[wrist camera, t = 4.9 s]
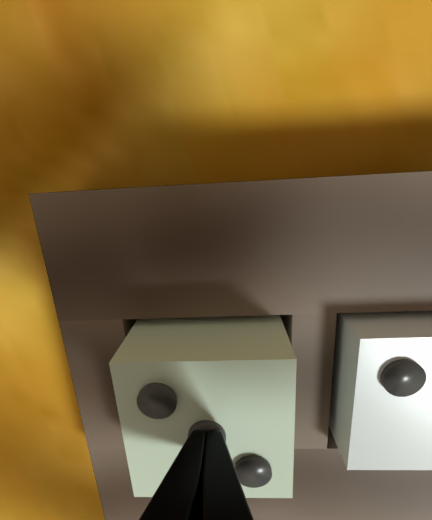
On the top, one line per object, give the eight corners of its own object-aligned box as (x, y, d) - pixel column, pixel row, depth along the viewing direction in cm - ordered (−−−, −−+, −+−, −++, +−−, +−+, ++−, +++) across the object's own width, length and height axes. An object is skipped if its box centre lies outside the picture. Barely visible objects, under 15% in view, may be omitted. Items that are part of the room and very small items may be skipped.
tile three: (276, 417, 11) (293, 503, 8) (157, 419, 12) (132, 502, 9) (277, 308, 10) (298, 362, 7) (142, 311, 10) (106, 366, 7)
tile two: (436, 399, 12) (508, 475, 9) (318, 401, 12) (348, 474, 9) (458, 292, 10) (552, 337, 7) (324, 296, 11) (363, 341, 8)
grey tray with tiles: (608, 457, 13) (711, 531, 11) (129, 456, 15) (106, 523, 12) (741, 153, 10) (959, 141, 7) (80, 190, 11) (28, 193, 8)
